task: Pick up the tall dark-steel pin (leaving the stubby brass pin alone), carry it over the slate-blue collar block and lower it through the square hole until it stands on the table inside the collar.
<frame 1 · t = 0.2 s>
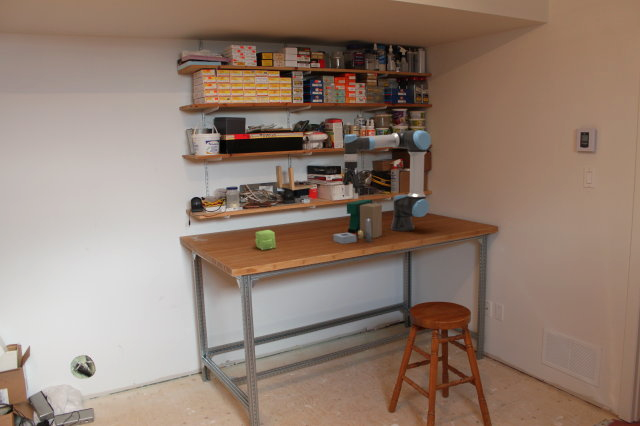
hand: (351, 197, 305), 27 cm above the table, fingers open, 13 cm apart
long pin: (368, 241, 309), on the table
collar: (344, 241, 312), on the table
short pin: (360, 238, 318), on the table
power tool: (363, 230, 343), on the table
green block: (264, 247, 301), on the table
wooden block: (371, 236, 324), on the table
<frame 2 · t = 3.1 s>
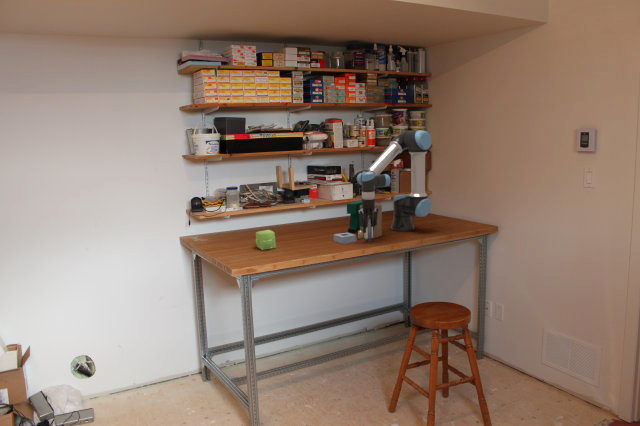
hand: (368, 237, 309), 3 cm above the table, fingers closed on long pin, 3 cm apart
long pin: (368, 241, 309), on the table, touching gripper
everything else where it was.
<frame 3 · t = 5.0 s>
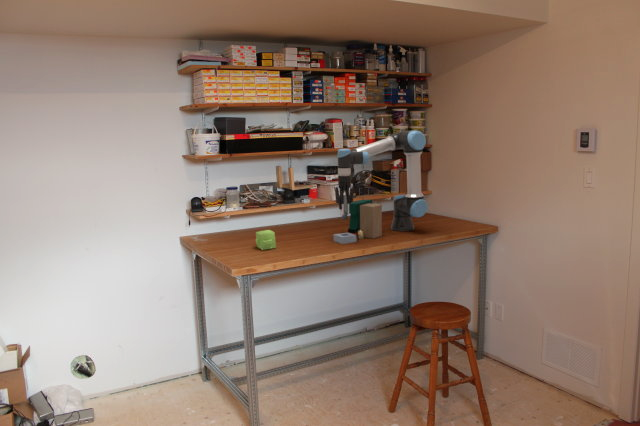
hand: (344, 214, 309), 16 cm above the table, fingers closed on long pin, 3 cm apart
long pin: (344, 218, 310), point 14 cm above the table, touching gripper
everything else where it was.
when the fingers open (5 cm above the table, at t = 6.8 s): long pin drops 2 cm, resting in collar.
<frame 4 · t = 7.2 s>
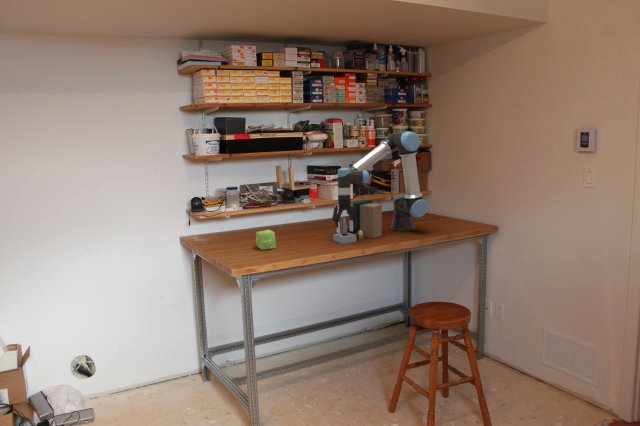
hand: (344, 231, 311), 6 cm above the table, fingers open, 8 cm apart
long pin: (344, 241, 312), resting in collar
everything else where it was.
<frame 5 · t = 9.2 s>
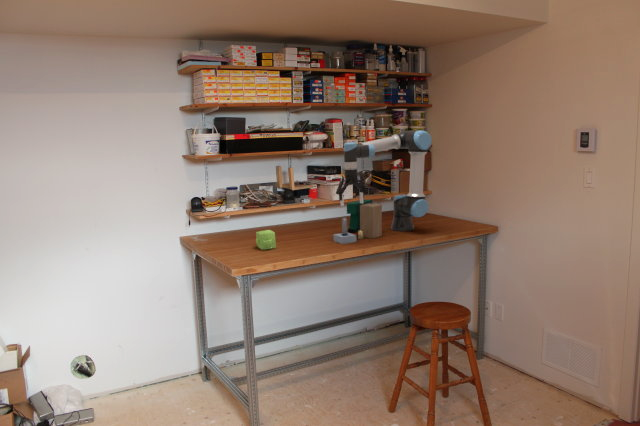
hand: (352, 204, 309), 22 cm above the table, fingers open, 13 cm apart
nothing on the table moved.
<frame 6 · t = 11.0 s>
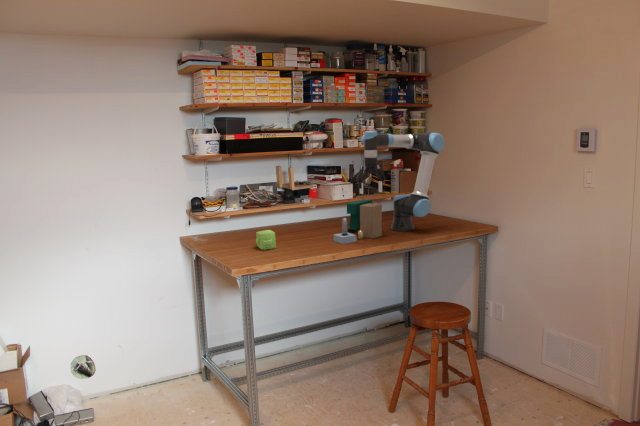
hand: (371, 193, 309), 29 cm above the table, fingers open, 13 cm apart
nothing on the table moved.
at the end: long pin 0.0 cm off-centre on the collar, point 0.0 cm above the collar's base; long pin tilted 0°; the gripper is holding nothing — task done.
